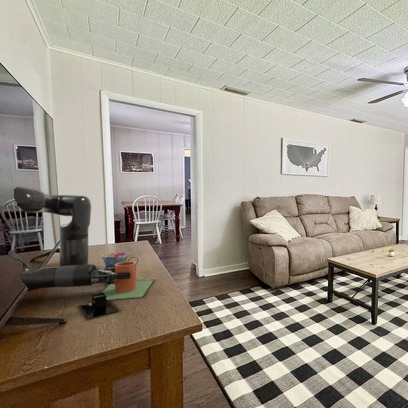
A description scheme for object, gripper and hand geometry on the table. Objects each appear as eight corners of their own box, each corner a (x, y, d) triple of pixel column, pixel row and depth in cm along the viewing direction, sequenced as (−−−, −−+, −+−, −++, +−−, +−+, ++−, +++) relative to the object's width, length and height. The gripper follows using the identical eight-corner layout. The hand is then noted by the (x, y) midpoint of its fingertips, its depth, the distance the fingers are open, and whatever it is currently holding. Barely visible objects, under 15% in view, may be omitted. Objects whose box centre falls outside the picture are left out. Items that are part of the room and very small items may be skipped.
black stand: (80, 306, 91) (80, 292, 91) (108, 300, 97) (108, 287, 96) (88, 319, 83) (88, 303, 83) (119, 311, 89) (119, 297, 89)
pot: (118, 287, 107) (118, 261, 106) (137, 286, 109) (137, 261, 109) (112, 293, 101) (112, 266, 100) (133, 292, 103) (133, 265, 103)
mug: (99, 285, 108) (99, 258, 107) (103, 279, 115) (103, 253, 115) (137, 281, 114) (138, 255, 114) (138, 275, 122) (139, 251, 122)
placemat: (111, 283, 111) (111, 282, 111) (153, 280, 117) (153, 280, 117) (92, 301, 95) (92, 300, 95) (142, 297, 100) (142, 296, 100)
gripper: (65, 271, 92) (127, 268, 99) (85, 260, 106) (138, 257, 112) (66, 293, 93) (127, 288, 99) (85, 279, 106) (138, 276, 113)
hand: (133, 272), depth 106 cm, fingers closed on pot, 6 cm apart
